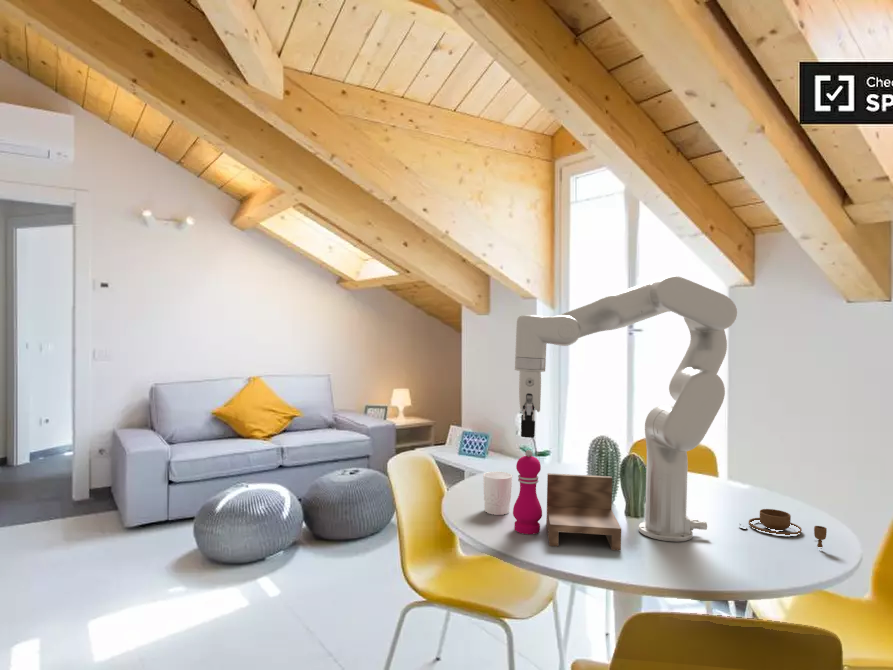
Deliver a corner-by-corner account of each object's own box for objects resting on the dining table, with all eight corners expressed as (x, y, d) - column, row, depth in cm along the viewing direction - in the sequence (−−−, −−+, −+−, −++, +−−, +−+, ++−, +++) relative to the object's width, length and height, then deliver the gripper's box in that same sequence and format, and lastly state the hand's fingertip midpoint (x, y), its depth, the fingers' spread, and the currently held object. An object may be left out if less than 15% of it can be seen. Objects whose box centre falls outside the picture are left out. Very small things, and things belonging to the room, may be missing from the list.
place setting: (808, 529, 154) (809, 506, 154) (831, 556, 136) (832, 530, 136) (734, 520, 160) (735, 498, 160) (746, 545, 141) (747, 520, 141)
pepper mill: (543, 527, 150) (545, 448, 150) (540, 536, 143) (541, 453, 143) (514, 524, 152) (516, 446, 151) (510, 533, 145) (512, 451, 144)
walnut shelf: (610, 527, 151) (611, 476, 150) (620, 550, 135) (622, 493, 135) (546, 523, 152) (547, 473, 152) (549, 545, 137) (550, 489, 137)
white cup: (510, 517, 157) (510, 479, 157) (480, 514, 159) (481, 477, 159) (512, 508, 165) (513, 472, 165) (484, 506, 167) (485, 470, 167)
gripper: (547, 367, 138) (544, 441, 138) (544, 363, 155) (541, 429, 155) (514, 366, 139) (511, 439, 139) (515, 362, 156) (512, 427, 156)
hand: (527, 433), depth 147 cm, fingers open, 9 cm apart
